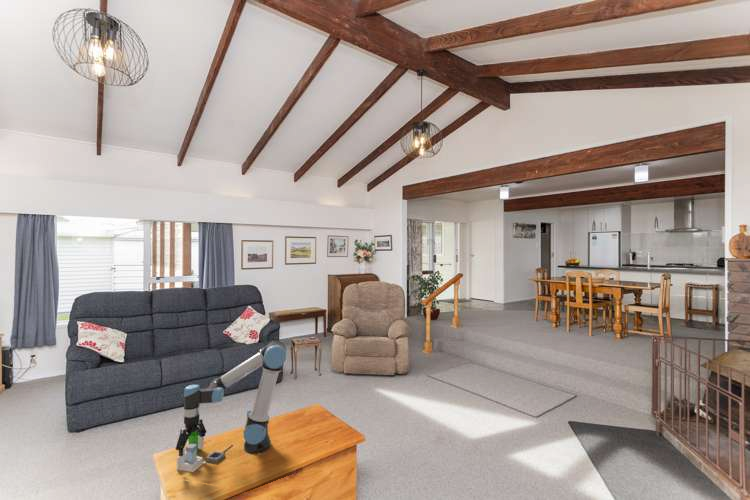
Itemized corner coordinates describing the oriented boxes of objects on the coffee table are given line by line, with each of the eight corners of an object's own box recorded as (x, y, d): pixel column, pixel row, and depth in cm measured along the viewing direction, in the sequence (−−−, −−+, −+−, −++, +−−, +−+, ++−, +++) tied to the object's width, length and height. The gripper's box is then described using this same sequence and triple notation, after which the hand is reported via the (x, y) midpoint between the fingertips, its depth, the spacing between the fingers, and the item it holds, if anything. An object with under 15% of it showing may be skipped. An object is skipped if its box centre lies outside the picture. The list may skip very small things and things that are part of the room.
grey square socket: (224, 457, 213) (224, 452, 213) (216, 464, 206) (216, 459, 206) (214, 455, 215) (214, 451, 215) (205, 462, 208) (205, 457, 208)
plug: (197, 464, 205) (197, 444, 205) (192, 468, 201) (192, 448, 201) (191, 463, 206) (191, 443, 206) (185, 467, 202) (185, 447, 202)
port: (205, 463, 207) (205, 449, 207) (192, 473, 197) (192, 458, 198) (190, 460, 210) (190, 446, 210) (176, 470, 200) (176, 456, 200)
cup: (197, 456, 214) (197, 436, 214) (183, 454, 216) (183, 435, 216) (207, 448, 223) (207, 429, 223) (193, 446, 224) (193, 428, 225)
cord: (233, 446, 225) (233, 444, 225) (220, 456, 214) (220, 454, 214) (232, 446, 225) (232, 444, 225) (219, 456, 214) (219, 454, 214)
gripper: (202, 405, 217) (201, 442, 217) (167, 424, 193) (167, 466, 193) (213, 406, 215) (213, 444, 215) (180, 425, 191) (180, 468, 191)
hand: (191, 454), depth 204 cm, fingers open, 13 cm apart
